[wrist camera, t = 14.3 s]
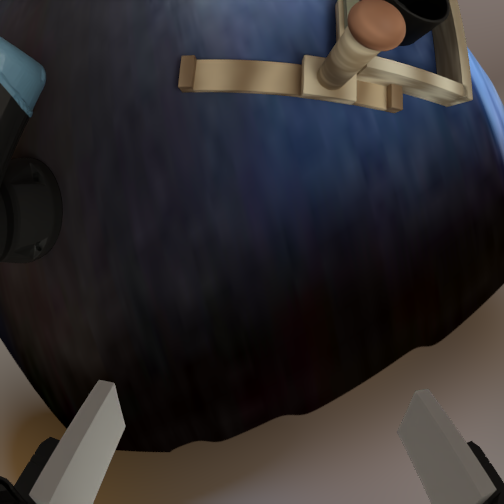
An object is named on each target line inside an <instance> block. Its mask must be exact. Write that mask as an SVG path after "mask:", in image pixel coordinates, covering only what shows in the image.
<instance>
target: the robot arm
mask: <svg viewBox="0 0 504 504" xmlns="http://www.w3.org/2000/svg"><path fill="white" fill-rule="evenodd" d="M45 83H46V72H45V69H44V68H43V66H42V65H41V64H39V63H38V62H37V61H35V60H34V59H33V58H31V57H30V56H28V55H27V54H25V53H24V52H23V51H21V50H20V49H18V48H17V47H15V46H14V45H12V44H11V43H9V42H8V41H6V40H5V39H3V38H2V37H0V262H9V263H29V262H32V261H34V260H37V259H39V258H41V257H43V256H44V255H46V254H47V253H48V252H49V251H50V250H51V249H52V247H53V246H54V244H55V242H56V240H57V238H58V235H59V232H60V228H61V223H62V200H61V194H60V190H59V187H58V184H57V181H56V179H55V177H54V175H53V174H52V172H51V171H50V170H49V168H48V167H47V166H46V165H45V164H44V163H42V162H41V161H39V160H37V159H34V158H15V159H12V160H11V157H12V155H13V152H14V150H15V148H16V145H17V143H18V141H19V139H20V136H21V134H22V132H23V130H24V128H25V126H26V124H27V122H28V120H29V118H30V117H32V114H33V108H34V106H35V104H36V102H37V100H38V98H39V96H40V94H41V92H42V90H43V88H44V86H45ZM124 429H125V423H124V419H123V416H122V412H121V408H120V404H119V400H118V396H117V392H116V387H115V383H111V382H107V381H102V380H99V381H98V382H97V384H96V385H95V387H94V388H93V390H92V391H91V393H90V394H89V396H88V397H87V399H86V400H85V402H84V404H83V405H82V407H81V408H80V410H79V411H78V413H77V414H76V416H75V418H74V419H73V421H72V422H71V424H70V426H69V427H68V429H67V430H66V432H65V434H64V435H63V437H62V439H61V440H57V439H55V438H52V437H49V438H48V439H46V440H45V441H44V442H42V443H41V444H40V445H39V447H38V449H37V450H36V452H35V455H33V456H32V458H31V460H30V462H29V463H28V464H27V466H26V467H25V469H24V471H23V472H22V474H21V476H20V477H19V479H18V480H17V482H16V484H15V485H14V486H13V485H12V484H11V483H10V482H9V481H8V480H7V479H6V478H3V477H1V476H0V504H93V502H94V500H95V497H96V495H97V492H98V490H99V487H100V485H101V482H102V480H103V478H104V475H105V473H106V470H107V468H108V466H109V463H110V461H111V458H112V456H113V454H114V451H115V449H116V447H117V445H118V442H119V440H120V438H121V435H122V433H123V431H124ZM397 433H398V435H399V437H400V439H401V441H402V443H403V445H404V447H405V449H406V451H407V453H408V455H409V457H410V459H411V461H412V463H413V465H414V468H415V470H416V471H417V474H418V476H419V478H420V480H421V482H422V484H423V486H424V489H425V491H426V493H427V495H428V497H429V499H430V502H431V504H504V483H503V481H502V480H501V478H500V476H499V475H498V474H497V472H496V470H495V469H494V467H493V466H492V464H491V463H489V460H488V458H487V457H485V454H484V453H483V451H482V450H481V448H480V447H479V446H478V445H476V444H475V443H473V442H472V441H471V442H468V443H466V441H465V440H464V438H463V437H462V436H461V434H460V433H459V431H458V430H457V428H456V427H455V425H454V424H453V422H452V421H451V420H450V418H449V417H448V415H447V414H446V412H445V411H444V410H443V408H442V407H441V405H440V404H439V403H438V401H437V400H436V399H435V397H434V396H433V395H432V393H431V392H430V390H429V389H424V390H417V391H415V393H414V395H413V398H412V400H411V402H410V405H409V407H408V409H407V411H406V414H405V416H404V418H403V420H402V422H401V424H400V427H399V428H398V431H397Z"/></svg>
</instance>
